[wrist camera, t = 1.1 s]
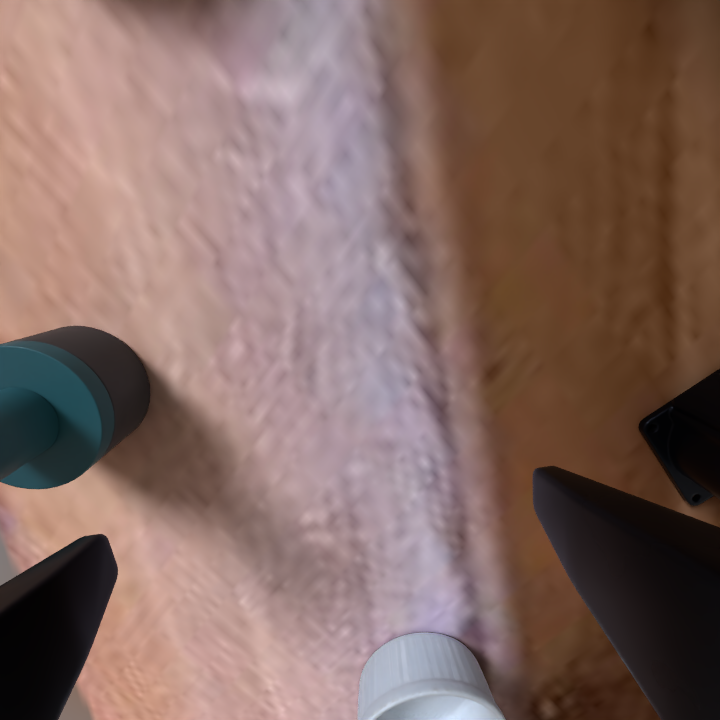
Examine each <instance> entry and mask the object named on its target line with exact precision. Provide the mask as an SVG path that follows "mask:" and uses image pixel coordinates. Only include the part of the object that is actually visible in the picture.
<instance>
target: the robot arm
mask: <svg viewBox="0 0 720 720" xmlns="http://www.w3.org/2000/svg"><path fill="white" fill-rule="evenodd" d="M651 424H652V427H651V428H650V429H648V428H649V426H650V425H651ZM639 430H640V432H641V433H642V435H643V436H644V438H645V440H646V441H647V443H648V444H649V446H650V447H651V449H652V451H653V452H654V454H655V455H656V457H657V458H658V460H659V462H660V463H661V465H662V466H663V468H664V469H665V471H666V473H667V474H668V476H669V477H670V479H671V480H672V482H673V484H674V485H675V487H676V488H677V490H678V491H679V493H680V495H681V496H682V498H683V499H684V500H685V501H686V502H688V503H689V504H690V505H693V506H696V505H699V504H701V503H703V502H704V501H706V500H708V499H709V498H711V497H713V496H715V497H717V498H718V499H720V369H719V370H717V371H716V372H714V373H713V374H711V375H710V376H708V377H706V378H705V379H703V380H702V381H700V382H699V383H697V384H696V385H694V386H693V387H691V388H690V389H688V390H687V391H685V392H684V393H682V394H680V395H679V396H677V397H676V398H674V399H673V400H671V401H670V402H668V403H667V404H665V405H664V406H662V407H661V408H659V409H658V410H656V411H654V412H653V413H651V414H650V415H648V416H647V417H645V418H644V419H643V420H642V421H641V422H640V424H639ZM694 495H695V496H694ZM533 504H534V509H535V512H536V514H537V516H538V518H539V520H540V522H541V524H542V526H543V528H544V530H545V532H546V534H547V536H548V538H549V540H550V542H551V544H552V546H553V548H554V550H555V551H556V553H557V555H558V557H559V559H560V561H561V563H562V565H563V567H564V569H565V571H566V573H567V574H568V576H569V578H570V580H571V582H572V583H573V585H574V586H575V588H576V590H577V591H578V593H579V594H580V596H581V597H582V599H583V600H584V602H585V603H586V605H587V607H588V608H589V610H590V611H591V613H592V614H593V616H594V617H595V619H596V620H597V622H598V623H599V625H600V626H601V628H602V630H603V631H604V633H605V634H606V636H607V637H608V639H609V640H610V642H611V643H612V645H613V646H614V648H615V649H616V651H617V653H618V654H619V656H620V657H621V659H622V660H623V662H624V663H625V665H626V666H627V668H628V669H629V671H630V672H631V674H632V676H633V677H634V679H635V680H636V682H637V683H638V685H639V686H640V688H641V689H642V691H643V692H644V694H645V695H646V697H647V699H648V700H649V702H650V703H651V705H652V706H653V708H654V709H655V711H656V712H657V714H658V715H659V717H660V718H661V720H720V528H719V527H717V526H714V525H711V524H709V523H706V522H703V521H701V520H698V519H695V518H693V517H690V516H687V515H684V514H682V513H679V512H676V511H674V510H671V509H668V508H666V507H663V506H660V505H658V504H655V503H652V502H650V501H647V500H644V499H642V498H639V497H636V496H633V495H631V494H628V493H625V492H623V491H620V490H617V489H615V488H612V487H609V486H607V485H604V484H601V483H599V482H596V481H593V480H591V479H588V478H585V477H583V476H580V475H577V474H575V473H572V472H569V471H566V470H564V469H561V468H558V467H556V466H547V467H541V468H536V469H535V470H534V472H533ZM117 575H118V567H117V563H116V561H115V558H114V555H113V552H112V549H111V546H110V543H109V540H108V538H107V537H106V536H105V535H103V534H97V535H90V536H84V537H81V538H79V539H78V540H76V541H74V542H73V543H71V544H69V545H68V546H66V547H64V548H63V549H61V550H59V551H58V552H56V553H54V554H53V555H51V556H49V557H48V558H46V559H44V560H43V561H41V562H39V563H38V564H36V565H34V566H33V567H31V568H29V569H28V570H26V571H24V572H23V573H21V574H19V575H18V576H16V577H14V578H13V579H11V580H9V581H8V582H6V583H4V584H3V585H1V586H0V720H58V719H59V717H60V715H61V712H62V710H63V708H64V706H65V704H66V702H67V700H68V698H69V696H70V694H71V691H72V689H73V687H74V685H75V683H76V681H77V679H78V677H79V675H80V673H81V670H82V668H83V666H84V664H85V661H86V659H87V657H88V654H89V652H90V649H91V647H92V644H93V642H94V639H95V636H96V634H97V631H98V628H99V626H100V623H101V620H102V618H103V615H104V612H105V609H106V607H107V604H108V601H109V599H110V596H111V593H112V591H113V588H114V585H115V582H116V579H117Z"/></svg>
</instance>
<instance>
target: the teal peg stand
mask: <svg viewBox="0 0 720 720" xmlns="http://www.w3.org/2000/svg"><path fill="white" fill-rule="evenodd" d="M149 402H150V385H149V380H148V377H147V374H146V371H145V369H144V367H143V365H142V363H141V362H140V360H139V359H138V357H137V356H136V355H135V353H134V352H133V351H132V350H131V349H130V348H129V347H128V346H127V345H126V344H124V343H123V342H122V341H120V340H119V339H118V338H116V337H114V336H112V335H111V334H108V333H106V332H104V331H101V330H98V329H95V328H90V327H85V326H68V327H63V328H58V329H54V330H51V331H47V332H43V333H40V334H36V335H33V336H29V337H25V338H22V339H18V340H14V341H11V342H7V343H3V344H0V482H2V483H5V484H8V485H11V486H15V487H20V488H26V489H47V488H52V487H57V486H61V485H64V484H67V483H69V482H71V481H73V480H75V479H76V478H78V477H79V476H81V475H82V474H83V473H84V472H86V471H87V470H88V469H89V468H90V467H91V466H93V465H94V464H95V463H96V462H97V461H98V460H100V459H101V458H102V457H103V456H104V455H106V454H107V453H108V452H109V451H110V450H111V449H113V448H114V447H115V446H116V445H117V444H118V443H120V442H121V441H122V440H123V439H124V438H125V437H127V436H128V435H129V434H130V433H131V432H132V431H134V430H135V429H136V428H137V427H138V426H139V424H140V423H141V422H142V420H143V419H144V417H145V415H146V412H147V410H148V406H149Z"/></svg>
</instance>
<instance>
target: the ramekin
mask: <svg viewBox="0 0 720 720" xmlns="http://www.w3.org/2000/svg"><path fill="white" fill-rule="evenodd" d="M358 720H506V719H505V717H504V715H503V713H502V711H501V710H500V708H499V707H498V705H497V704H496V703H495V700H494V698H493V696H492V693H491V691H490V689H489V686H488V684H487V682H486V679H485V677H484V675H483V672H482V670H481V668H480V666H479V664H478V662H477V660H476V658H475V657H474V655H473V654H472V652H471V651H470V650H469V649H468V648H467V647H466V646H465V645H463V644H462V643H461V642H459V641H458V640H456V639H454V638H452V637H449V636H446V635H443V634H438V633H430V632H419V633H411V634H407V635H403V636H400V637H397V638H395V639H393V640H391V641H389V642H387V643H386V644H384V645H383V646H381V647H380V648H379V649H378V650H376V651H375V652H374V653H373V655H372V656H371V657H370V658H369V660H368V661H367V663H366V665H365V667H364V669H363V671H362V674H361V678H360V683H359V698H358Z"/></svg>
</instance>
